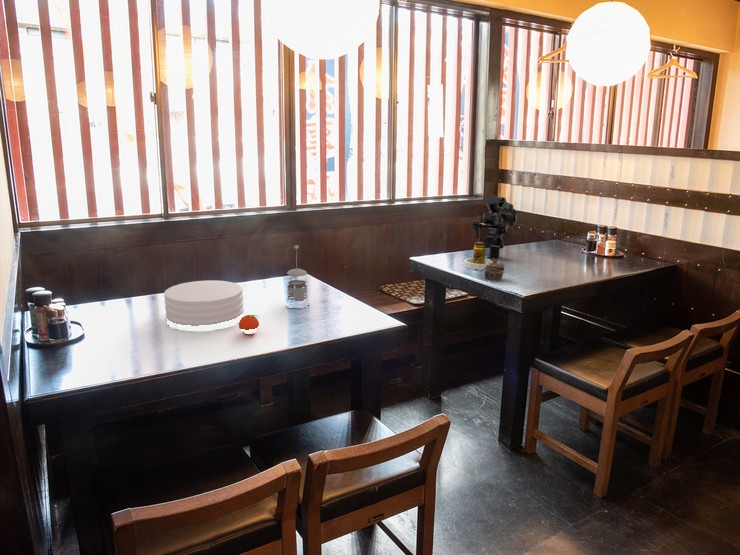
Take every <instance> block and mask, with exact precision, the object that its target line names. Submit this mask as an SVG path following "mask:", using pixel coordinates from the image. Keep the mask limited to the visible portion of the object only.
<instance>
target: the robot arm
mask: <svg viewBox="0 0 740 555" xmlns="http://www.w3.org/2000/svg"><path fill="white" fill-rule="evenodd" d="M485 202H486V206H487V209H488V210H489V212H484V213H483V216H482V219H483V223H481V220H474V219H473V221H471V226H472V228H473V229H472V230H474V231H475V234H476V235H475V238H476V240H478V239H479V237H480V234H481V233H482V232H481V230H482V229H483V228H485V229H491V230H490V231H489V232H488V234H487V236H486V237H485V248H489V250H488V256H487V257H486V259H490V260H491V259H493V258H494V259H495V260H496V259H501V258H502V257H501V256H500V254H501V253H500V252H501V251H500V250H502V249H504V246H505V245H504V244H505V243H504V239H503V236H504V235H505V234H507V233H508V231H509V230H508V229H509V228H510V227H514V226H515V225H516V224H517V222H518V212H517V210H516V209H515V208H514V204H512V203H510V202H508V201H507V199H506V197H504V196H496V194H491V196H488V197H487V198H486V199H485ZM502 210H503V211H502ZM501 211H502V212H501ZM505 211H508V212H510V213H511V214H510V213H505ZM500 216H501V222H499V218H500ZM498 222H499V223H498Z"/></svg>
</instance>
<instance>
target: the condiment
mask: <svg viewBox="0 0 740 555" xmlns="http://www.w3.org/2000/svg"><path fill="white" fill-rule="evenodd" d="M472 256H473V257H472V258H473V262H471V263H475V264H486V263H485V258H486V242H484V241H483V242H482V241H476V242H474V247H473V253H472Z"/></svg>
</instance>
